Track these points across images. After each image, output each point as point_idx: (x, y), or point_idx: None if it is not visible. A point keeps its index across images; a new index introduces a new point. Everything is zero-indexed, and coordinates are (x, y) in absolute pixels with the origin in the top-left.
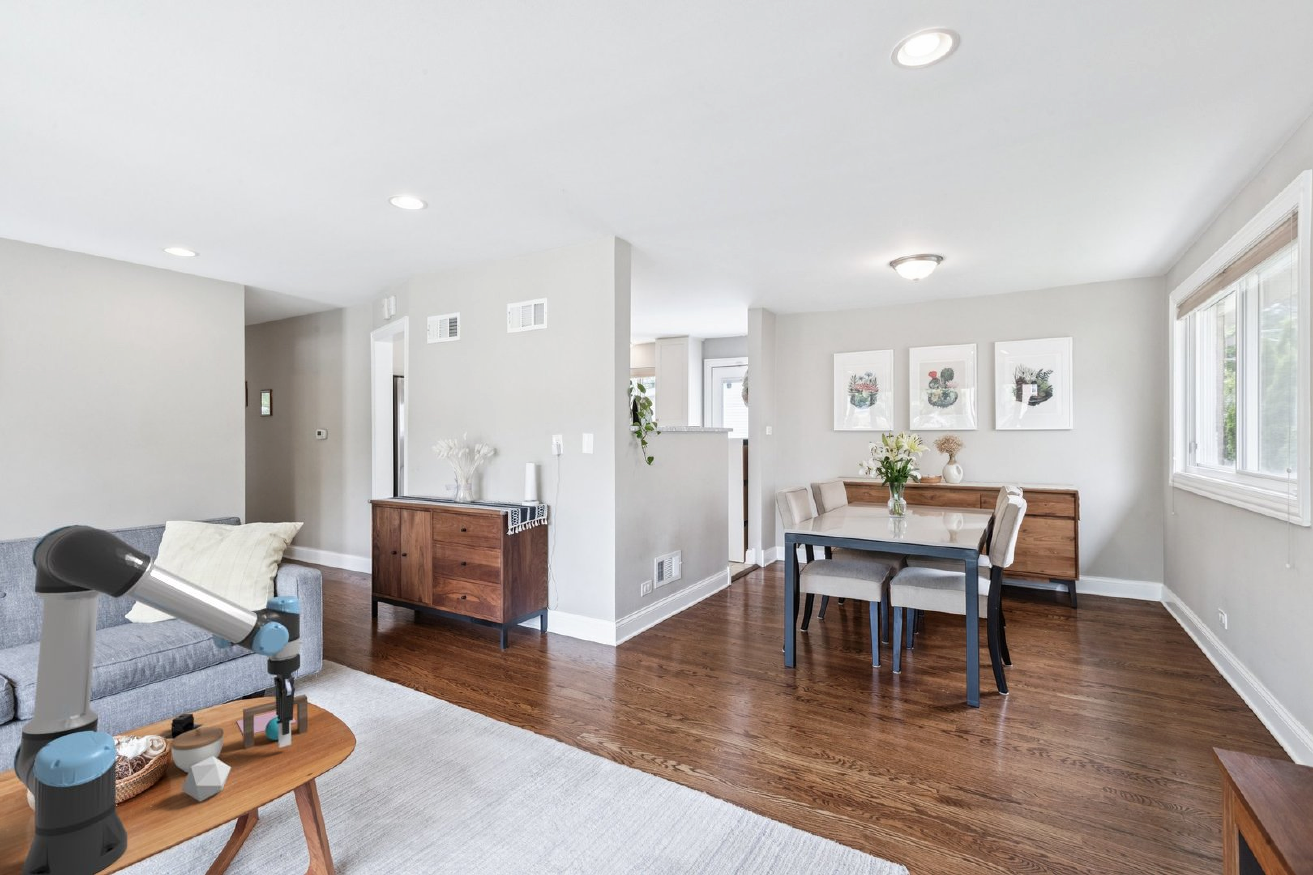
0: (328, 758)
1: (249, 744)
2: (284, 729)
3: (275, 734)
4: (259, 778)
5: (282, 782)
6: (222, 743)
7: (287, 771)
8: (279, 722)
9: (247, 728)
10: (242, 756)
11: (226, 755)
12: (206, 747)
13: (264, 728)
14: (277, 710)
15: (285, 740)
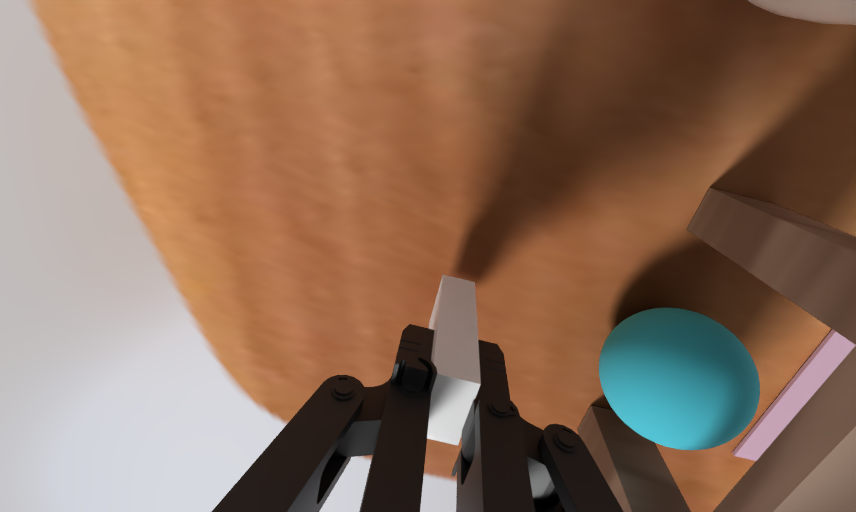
0: (223, 348)
1: (708, 214)
2: (397, 353)
3: (618, 333)
4: (246, 71)
5: (114, 127)
6: (778, 2)
7: (223, 196)
8: (394, 370)
9: (795, 246)
10: (624, 133)
11: (747, 76)
12: None
13: (845, 355)
14: (556, 466)
15: (433, 316)
